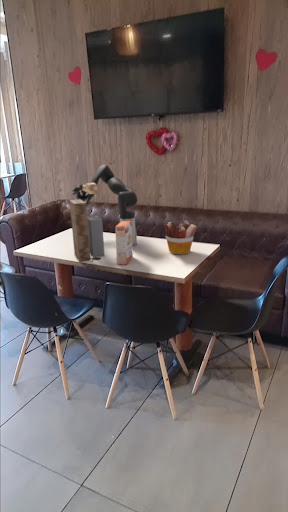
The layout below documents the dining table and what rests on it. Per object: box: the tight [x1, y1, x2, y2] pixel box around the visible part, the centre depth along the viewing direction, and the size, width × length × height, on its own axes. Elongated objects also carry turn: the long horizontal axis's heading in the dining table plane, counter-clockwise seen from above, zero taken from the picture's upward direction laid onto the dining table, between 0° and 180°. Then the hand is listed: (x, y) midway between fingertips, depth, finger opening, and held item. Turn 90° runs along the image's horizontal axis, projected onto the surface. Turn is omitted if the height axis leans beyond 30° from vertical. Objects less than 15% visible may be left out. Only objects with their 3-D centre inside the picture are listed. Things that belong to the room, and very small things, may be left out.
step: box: [87, 215, 105, 259], centre depth 209 cm, size 6×12×22 cm, turn 21°
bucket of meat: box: [163, 220, 198, 255], centre depth 207 cm, size 20×16×20 cm
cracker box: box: [114, 221, 134, 266], centre depth 196 cm, size 14×6×21 cm, turn 168°
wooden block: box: [69, 199, 91, 263], centre depth 201 cm, size 6×14×32 cm, turn 21°
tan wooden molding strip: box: [82, 182, 98, 195], centre depth 205 cm, size 4×24×5 cm, turn 21°
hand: (85, 185), depth 211 cm, fingers closed on tan wooden molding strip, 4 cm apart
